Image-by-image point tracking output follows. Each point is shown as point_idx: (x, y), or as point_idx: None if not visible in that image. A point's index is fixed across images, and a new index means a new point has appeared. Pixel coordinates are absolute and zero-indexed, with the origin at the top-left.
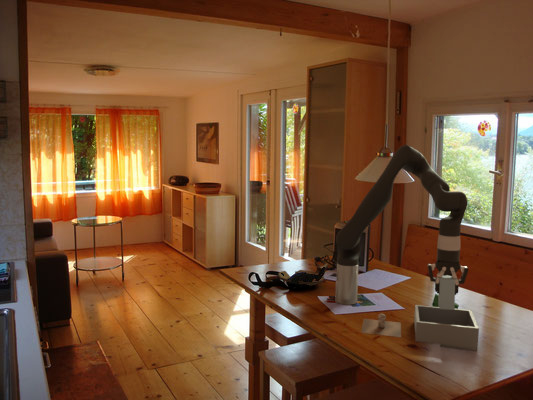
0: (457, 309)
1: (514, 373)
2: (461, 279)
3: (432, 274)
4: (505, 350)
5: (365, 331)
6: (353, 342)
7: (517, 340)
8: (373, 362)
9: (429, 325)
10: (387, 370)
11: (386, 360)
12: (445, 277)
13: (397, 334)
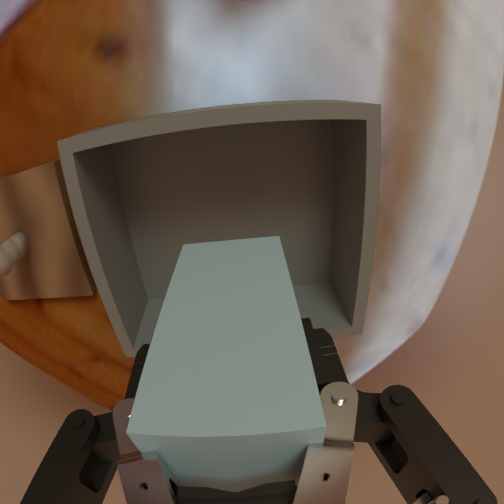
0: (305, 115)
1: (386, 355)
2: (378, 456)
3: (100, 498)
4: (416, 244)
5: (6, 289)
6: (20, 337)
7: (468, 153)
8: (98, 402)
9: None
10: None
11: (114, 392)
12: (221, 478)
13: (77, 279)
